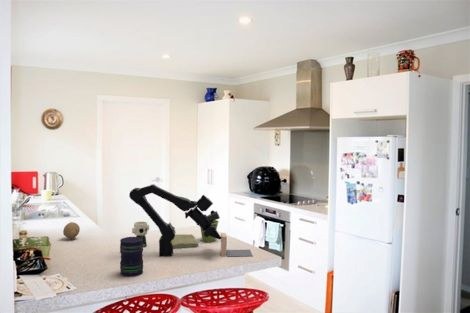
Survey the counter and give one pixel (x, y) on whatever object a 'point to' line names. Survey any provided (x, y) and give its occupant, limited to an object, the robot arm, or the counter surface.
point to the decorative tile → (184, 241)
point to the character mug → (141, 230)
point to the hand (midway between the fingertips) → (220, 238)
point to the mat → (239, 253)
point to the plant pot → (209, 238)
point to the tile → (223, 244)
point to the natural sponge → (71, 230)
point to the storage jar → (131, 256)
